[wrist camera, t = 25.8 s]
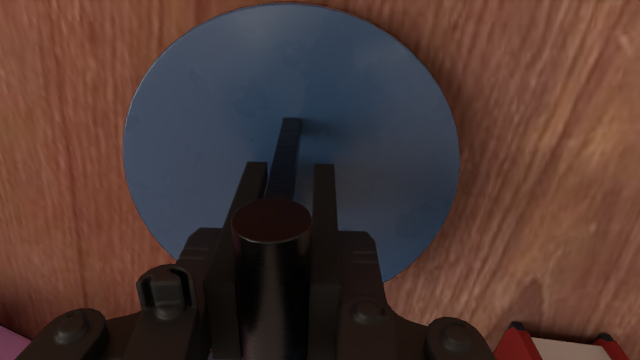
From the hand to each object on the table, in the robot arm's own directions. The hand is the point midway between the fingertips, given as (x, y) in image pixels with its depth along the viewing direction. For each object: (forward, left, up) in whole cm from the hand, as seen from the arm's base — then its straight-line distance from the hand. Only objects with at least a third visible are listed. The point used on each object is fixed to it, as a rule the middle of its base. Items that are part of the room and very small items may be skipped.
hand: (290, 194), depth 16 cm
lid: (0, 0, -1) cm, 1 cm away
